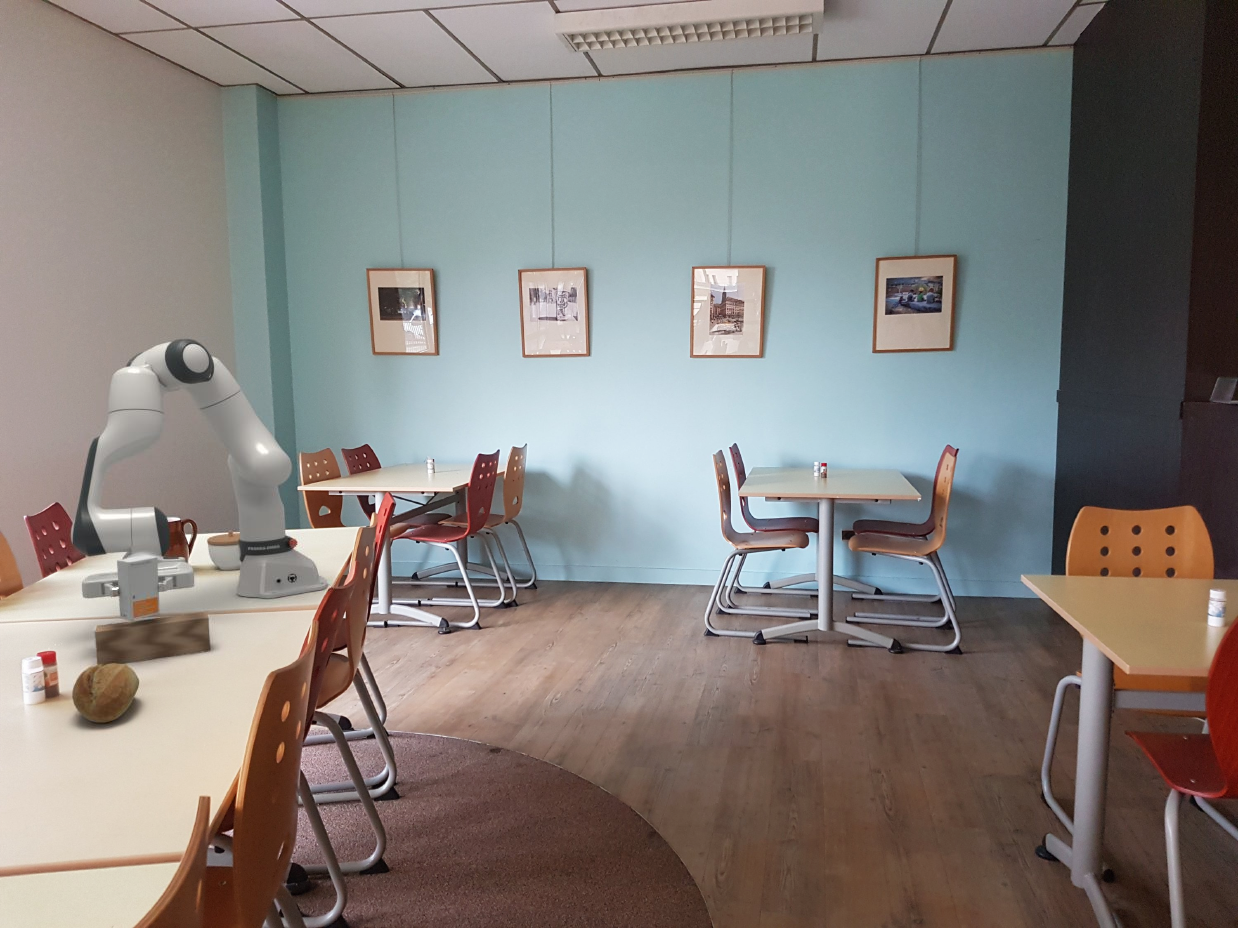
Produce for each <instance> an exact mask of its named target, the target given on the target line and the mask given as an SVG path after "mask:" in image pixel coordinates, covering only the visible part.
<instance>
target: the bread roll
mask: <svg viewBox="0 0 1238 928" xmlns="http://www.w3.org/2000/svg"><path fill="white" fill-rule="evenodd" d="M139 685H140V679H139V677H138V675H137V673H136V672H135V671H134V670H133V668H131V667H130V666H129V665H127V663H121V664H116V663H112V664H106V665H104V664H99V665H93V666H89V667H88V668H86V669H85V670H84V671H82V672H81V673H80V674H79V676H77V679H76V681H75V682H74V684H73V689H72V692H71V693H72V694H71V695H72V696H71V697H72V702H73V705H74V707H75V708H76V709H77V712H79V714H81V716H83V717H84V718H85V719H86V720H89V721H91V722H94V723H109V722H112V721H114V720H117V719H118V718H119V717H121V716H122V715H123V714H124V713H125V712H126V711H127V710H128V708H129V707H130V706H131V704H132V702H133V700H134V698H135V696H136V695H137V692H138V690H139Z"/></svg>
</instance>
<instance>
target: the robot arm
mask: <svg viewBox="0 0 1238 928" xmlns="http://www.w3.org/2000/svg"><path fill="white" fill-rule="evenodd" d="M181 389H183V390H185V391H186V392H187V393H188V394H189V395H190V396H191V399H192V400H193V401H194V404H195V406H196V407H197V409H198V410H199V412H200V414H201V416H202V417H203V419H204V420H205V423H207V425H208V427H209V428H210V431H211V433H213V435H214V437H215V438H216V439H217V440H218V441H219V442H220V444H221V445H222V446H223V448H225V449H226V451H228V453H229V455H228V458H227V465H228V466H227V467H228V469H229V472H230V477H231V481H232V486H233V492H234V496H235V501H236V505H237V509H238V511H237V513H238V525H239V526H238V527H239V528H238V529H239V533H240V539H239V544H238V553H239V559H240V561H241V563H240V569H239V577H238V583H237V587H236V592H235V594H237V596H242V597H250V598H260V599H274V598H278V597H279V598H280V597H285V596H292V595H298V594H303V593H308V592H315V591H320V590H325V589H326V588H327V587H328V585H329V584H328V580H327V579H326V578H325V577H323V576H320V575H319V571H318V570H319V569H318V568H317V565H316V563H315V562H314V560H312V559H311V558H309V557H308V556H306V555H305V554H303V553H301V552H299V551H298V550H296V549H295V548H296V547H297V546H298V541H297V539H296V538H293V537H291V536H289V535H287V534H286V521H285V519H286V518H285V517H286V515H285V507H284V503H283V501H282V498H281V495H280V491H279V487H278V486H280V485H282V484H283V483H285V482H287V480H289V478H290V476H291V474H292V469H293V468H292V467H293V466H292V460H291V459H290V457H289V455H288V454H287V453H286V452H285V451H284V450H283V449H282V447H281V446H280V444H279V443H278V442H277V440H276V439H275V437H274V436H273V434H271V432H270V431H269V429H268V428H267V427H266V425H264V423H263V422H262V421H261V420H260V418H259V417H258V416H257V414H256V412H255V410H254V409H253V407H252V406H251V403H250V401H248V398H247V397H246V396H245V394H244V392H243V390H242V389H241V386H240V385H239V383H238V382H237V380H236V379H235V378H234V376H233V374H231V372H230V371H229V370H228V368H227V367H226V366H225V365H224V363H222V361H221V360H220V359H219V358H217V357H215V356H212V355H211V354H210V352H209V351H208V349H207V348H206V347H205V346H204V345H203V344H202V343H200V342H198V341H197V340H195V339H192V338H191V339H190V338H180V339H179V338H178V339H175V340H173V341H168V342H164V343H160V344H157V345H154V346H153V347H151V348H149V349H147V350H145V351H143V352H139V353H137V354H136V355H134V356H132V358H130V359H129V361H128V362H127V364H126V365H125V366H124V367H123V368H120V369H118V370H117V371H116V372H114V374H113V375H112V377H111V381H110V388H109V392H108V403H107V405H108V406H107V412H108V413H107V416H108V418H107V419H108V420H107V423H106V426H105V428H104V430H103V432H102V433H101V434H100V435H99V436H97V437H95V438H93V440H92V441H91V444H90V447H89V449H88V453H87V457H86V461H85V468H84V471H83V477H82V483H81V489H80V492H79V493H80V495H79V500H78V504H77V509H76V513H75V517H74V519H73V522H72V525H71V528H70V529H71V530H70V540H71V544H72V547H73V548H74V549H75V550H76V551H78V552H80V553H81V554H82V555H84V556H87V557H95V556H96V557H97V556H102V555H107V554H116V553H125V554H124V555H123V556H122V558H121V559H127V558H130V557H137V556H142V555H149V556H154V557H157V564H158V587H159V593H162V592H167V591H173V590H180V589H190V588H193V587H195V574H194V572H195V571H194V569H193V568H194V567H193V566H192V565H191V564H190V563H189V562H186V558H185V557H182V556H180V557H179V556H166V555H167V553H168V552H169V551H170V545H171V544H170V543H171V542H170V541H171V531H170V523H169V520H168V517H167V515H166V514H165V513H164V512H163V511H162V510H161V509H160V508H158V507H156V506H142V507H131V508H130V507H129V508H108V509H105V508H102V507H101V501H102V496H103V491H104V485H105V480H106V476H107V473H108V472H109V471H110V469H111V468H113V467H114V466H115V465H118V464H119V463H122V462H124V461H126V460H129V459H132V458H134V457H137V456H140V455H143V454H145V453H147V452H149V451H150V450H152V449H153V448H155V447H156V446H157V445H158V444H159V443H160V442H161V440H162V438H163V437H164V432H165V408H164V406H165V405H164V396H165V394H167V393H173V392H176V391H180V390H181ZM81 593H82V597H83V598H84V599H96V598H98V599H99V598H104V597H105V598H106V597H110V598H116V597H119V588H118V571H113V572H112V571H109V572H102V573H94V574H90V575H87V576H85V578H84V579H83V580H82V581H81Z"/></svg>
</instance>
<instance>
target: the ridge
mask: <svg viewBox="0 0 1238 928" xmlns="http://www.w3.org/2000/svg"><path fill="white" fill-rule="evenodd" d="M209 619H210V618H209V613H208V611H203V612H201V611H200V612H195V613H194V612H193V613H185V614H179V615H178V614H177V615H172V616H169V615H168V616H162V617H154V618H147V619H136V620H133V621H129V620H128V621H122V622H114V623H107V624H99V625H96V627H95V631H94V639H95V640H94V641H95V650H96V662H97V663H96V664H97V665H99V664H104V665H106V664H112V663H116V664H128V663H133V662H141V661H148V660H154V659H156V660H157V659H161V657H163V658H168V657H175V656H174V655H176V656H183V655H189V654H188V653H190V654H195V653H202V652H201V651H204V652H209V651H208V650H211V635H210V620H209ZM182 654H183V655H182Z"/></svg>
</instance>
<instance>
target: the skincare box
mask: <svg viewBox="0 0 1238 928" xmlns="http://www.w3.org/2000/svg"><path fill="white" fill-rule="evenodd" d="M116 567H117V572H118V588H119V596H118V601H119V603H118V605H119V617H120V618H121V619H122V620H126V621H128V622H129V621H137V620H142V619H144V618H148V617H153V616H159V615H160V614H161V613H160V611H161V609H160V606H161V605H160V592H159V587H158V564H157V557H154V556H149V555H142V556H137V557H130V558H127V559H122V558H121V559H117V560H116Z"/></svg>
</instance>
